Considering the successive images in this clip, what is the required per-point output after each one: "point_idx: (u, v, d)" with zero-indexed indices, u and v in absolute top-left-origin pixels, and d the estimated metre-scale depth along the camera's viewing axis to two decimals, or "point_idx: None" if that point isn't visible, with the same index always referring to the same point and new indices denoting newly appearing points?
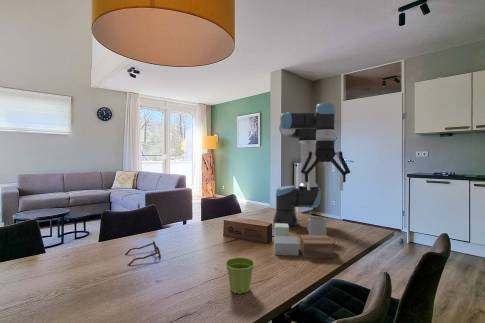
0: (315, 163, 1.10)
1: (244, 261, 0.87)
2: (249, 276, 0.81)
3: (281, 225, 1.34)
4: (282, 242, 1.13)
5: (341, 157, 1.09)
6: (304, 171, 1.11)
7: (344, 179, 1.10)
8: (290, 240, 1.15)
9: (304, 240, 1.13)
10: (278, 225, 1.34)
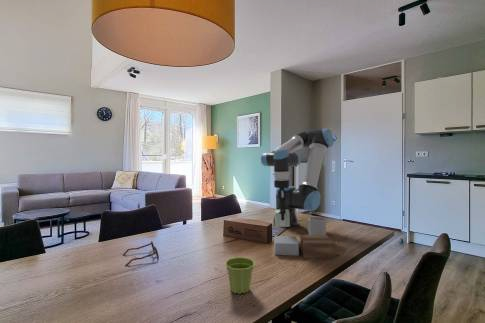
0: (279, 199, 1.36)
1: (244, 261, 0.87)
2: (249, 276, 0.81)
3: None
4: (282, 242, 1.13)
5: (280, 198, 1.28)
6: (280, 206, 1.40)
7: (281, 217, 1.29)
8: (290, 240, 1.15)
9: (304, 240, 1.13)
10: (278, 211, 1.34)
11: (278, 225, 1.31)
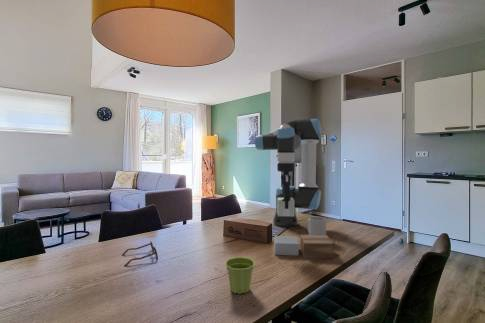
0: None
1: (244, 261, 0.87)
2: (249, 276, 0.81)
3: None
4: (282, 242, 1.13)
5: (284, 182, 1.10)
6: (283, 194, 1.22)
7: (285, 205, 1.11)
8: (290, 240, 1.15)
9: (304, 240, 1.13)
10: (282, 198, 1.16)
11: (281, 214, 1.13)
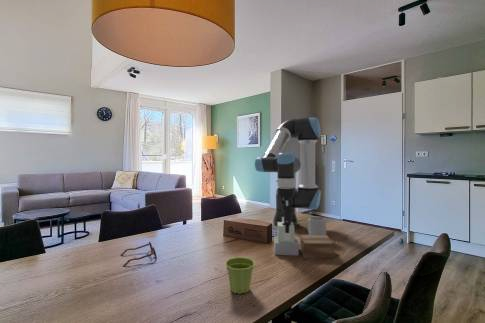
0: None
1: (244, 261, 0.87)
2: (249, 276, 0.81)
3: None
4: (282, 242, 1.13)
5: (284, 206, 1.10)
6: None
7: (285, 229, 1.09)
8: None
9: (304, 240, 1.13)
10: None
11: (281, 240, 1.13)
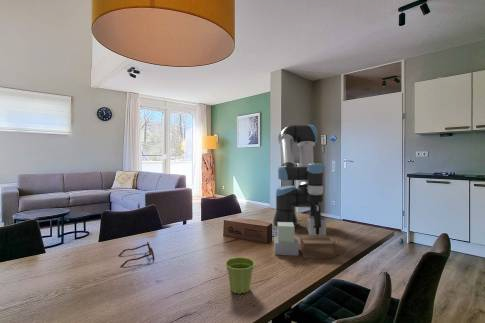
0: (311, 212, 1.36)
1: (244, 261, 0.87)
2: (249, 276, 0.81)
3: (286, 224, 1.17)
4: (282, 242, 1.13)
5: (315, 211, 1.27)
6: None
7: (316, 231, 1.26)
8: None
9: (304, 240, 1.13)
10: (282, 224, 1.17)
11: (281, 240, 1.13)
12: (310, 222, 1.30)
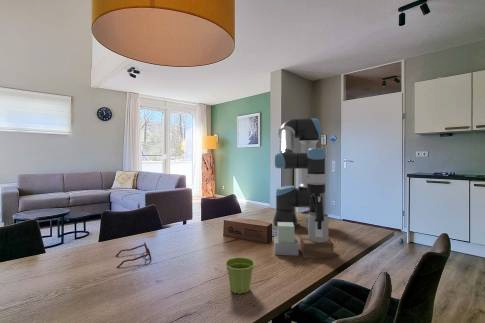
0: (311, 204, 1.18)
1: (244, 261, 0.87)
2: (249, 276, 0.81)
3: (286, 224, 1.17)
4: (282, 242, 1.13)
5: (316, 202, 1.08)
6: None
7: (317, 226, 1.06)
8: None
9: (304, 240, 1.13)
10: (282, 224, 1.17)
11: (281, 240, 1.13)
12: (310, 219, 1.12)
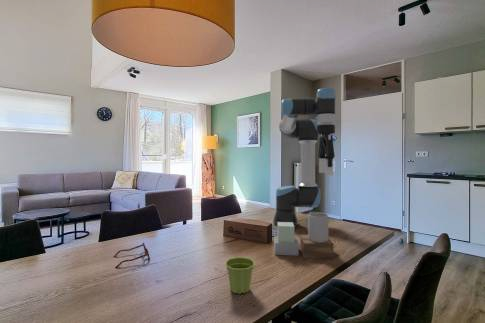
0: (320, 147, 1.17)
1: (244, 261, 0.87)
2: (249, 276, 0.81)
3: (286, 224, 1.17)
4: (282, 242, 1.13)
5: (326, 141, 1.07)
6: None
7: (328, 163, 1.05)
8: None
9: (304, 240, 1.13)
10: (282, 224, 1.17)
11: (281, 240, 1.13)
12: (310, 219, 1.12)
